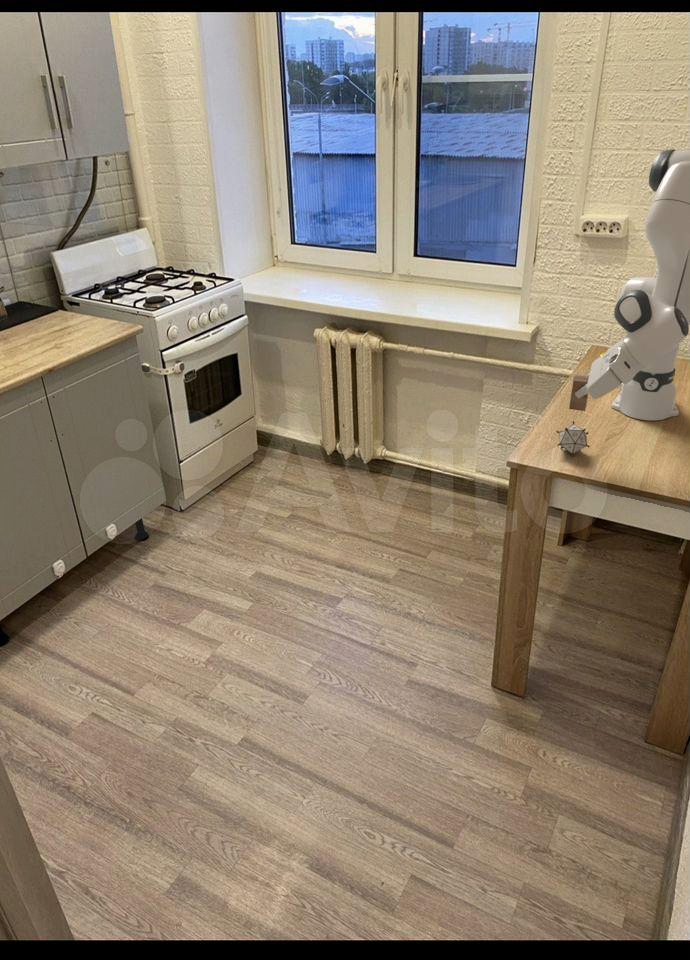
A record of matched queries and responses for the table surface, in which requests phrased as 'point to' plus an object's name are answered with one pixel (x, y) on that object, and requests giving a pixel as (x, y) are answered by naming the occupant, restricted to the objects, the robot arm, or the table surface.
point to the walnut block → (574, 401)
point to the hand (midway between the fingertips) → (577, 391)
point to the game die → (573, 438)
